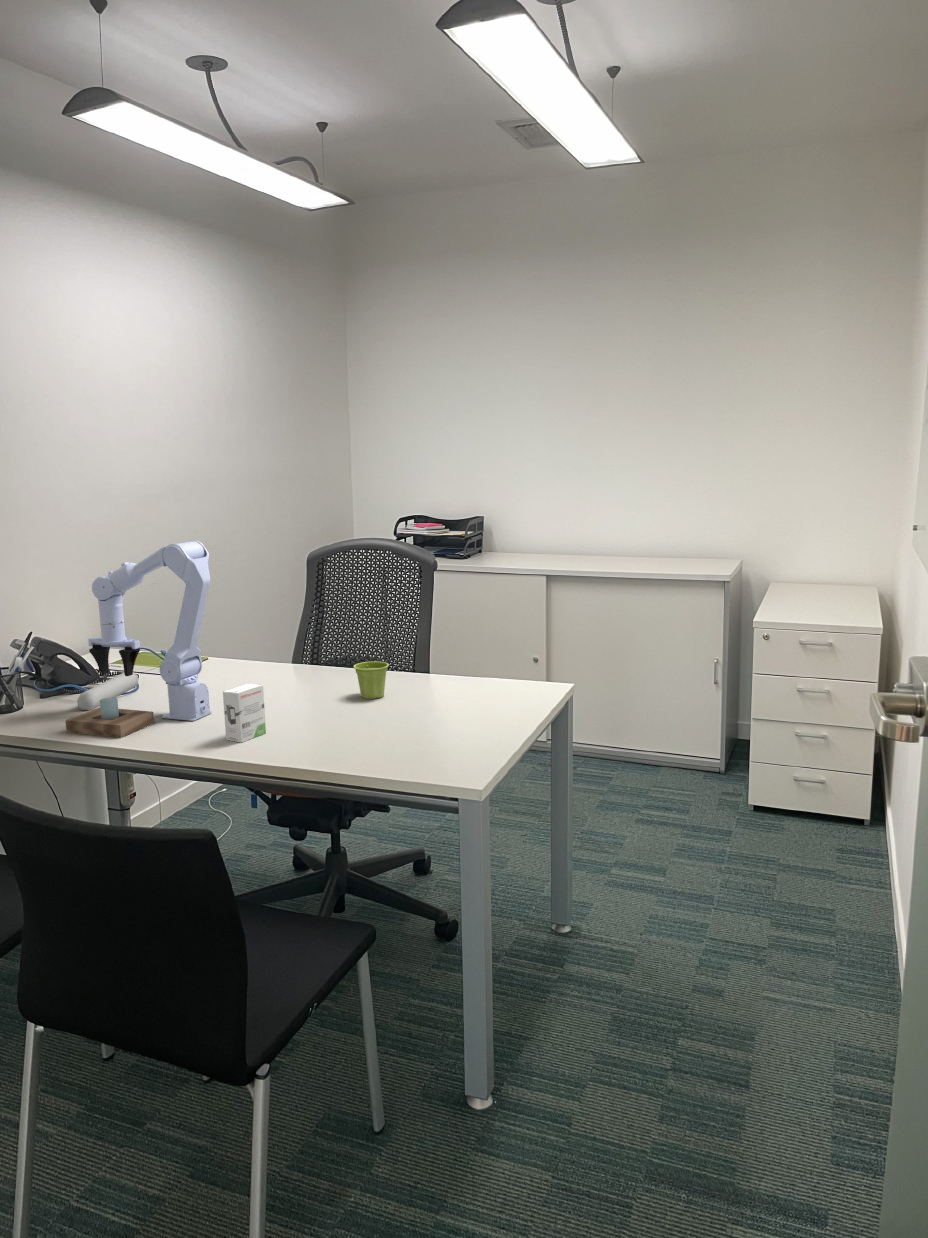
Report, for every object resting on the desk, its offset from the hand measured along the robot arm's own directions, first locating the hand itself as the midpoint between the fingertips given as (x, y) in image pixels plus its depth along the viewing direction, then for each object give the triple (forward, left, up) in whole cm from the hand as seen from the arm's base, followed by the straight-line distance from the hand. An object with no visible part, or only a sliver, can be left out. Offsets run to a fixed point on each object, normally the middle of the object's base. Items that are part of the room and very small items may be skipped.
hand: (116, 674), depth 238 cm
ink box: (-45, +11, -10) cm, 47 cm away
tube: (+11, -8, -10) cm, 17 cm away
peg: (-9, +14, -9) cm, 19 cm away
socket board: (-9, +14, -9) cm, 19 cm away
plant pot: (-58, -30, -10) cm, 66 cm away
